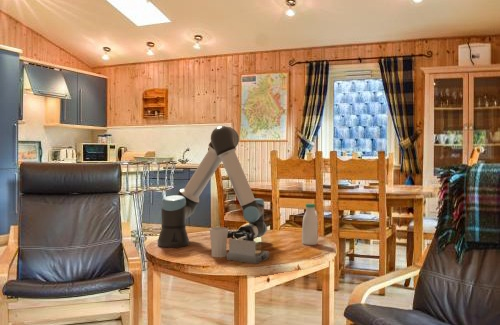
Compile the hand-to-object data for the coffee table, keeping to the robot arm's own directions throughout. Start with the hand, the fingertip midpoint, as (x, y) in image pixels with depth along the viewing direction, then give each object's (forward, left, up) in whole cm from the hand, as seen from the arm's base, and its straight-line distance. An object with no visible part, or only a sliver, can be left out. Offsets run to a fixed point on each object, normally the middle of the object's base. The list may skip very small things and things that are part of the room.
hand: (225, 240), depth 215 cm
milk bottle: (+24, +42, -7) cm, 49 cm away
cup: (-1, -4, -7) cm, 8 cm away
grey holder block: (+13, -3, -6) cm, 15 cm away
